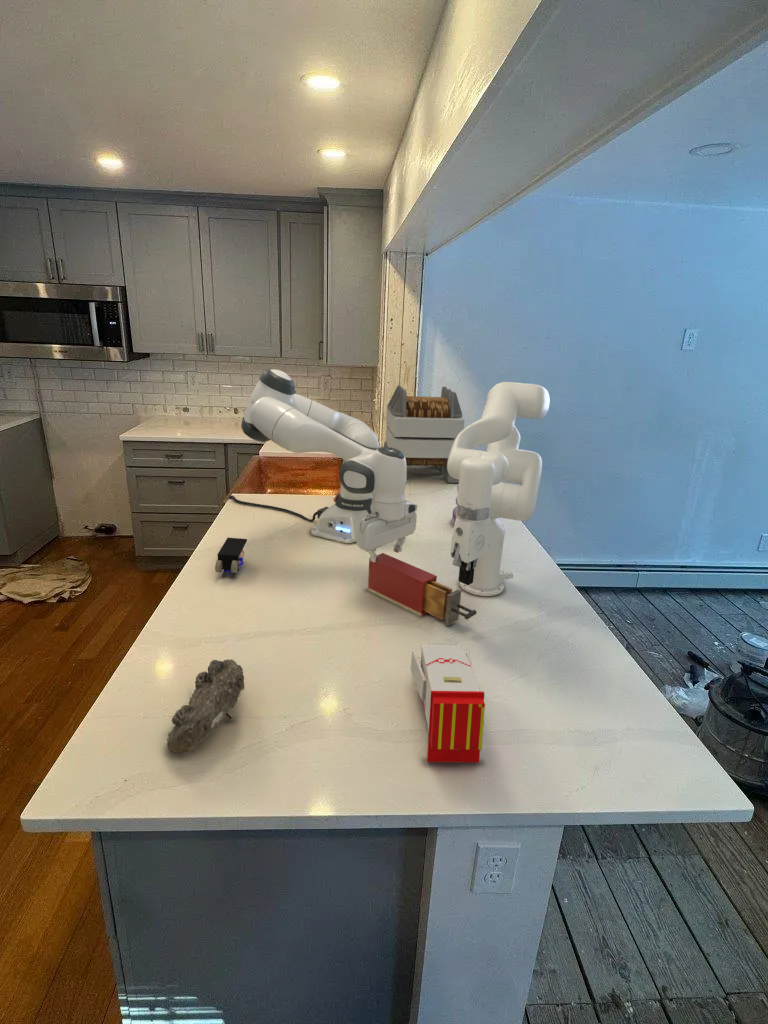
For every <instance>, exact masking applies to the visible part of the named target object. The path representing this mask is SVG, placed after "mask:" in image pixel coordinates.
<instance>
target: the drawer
mask: <svg viewBox="0 0 768 1024" xmlns="http://www.w3.org/2000/svg"><path fill="white" fill-rule="evenodd" d="M461 597H462V590H460V589H456V590H454V591H453V588H451V587H449V586H447V585H445V584H442V583H440V582H437V581H436V582H435V581H433V580H432V581H430V582H428V583H426V584H425V590H424V603H423V611H425V612H427V613H426V614H429V615H431V616H433V617H436V618H437V619H440V620H441V621H443V620H444V624H445V625H446V626H450V625H451V624H453V623H456V622H457V621H458V620H459V619H460V616H461V617H463V618H464V620H466V621H467V620H469V619H471V618H472V617H475V616H476V615H477V610H476V609H473V610H472V609H470V608H469V607H466V606H464V605H461V599H462V598H461ZM460 609H461V610H463V611H465V612H467V613H465V612H462V611H460Z"/></svg>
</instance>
